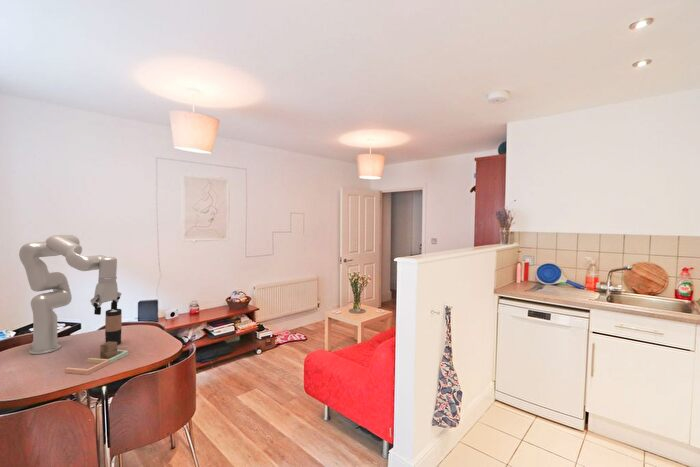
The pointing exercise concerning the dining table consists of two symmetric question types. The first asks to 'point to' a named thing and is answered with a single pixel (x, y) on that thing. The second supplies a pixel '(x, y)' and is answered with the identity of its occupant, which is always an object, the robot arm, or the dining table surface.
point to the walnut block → (108, 350)
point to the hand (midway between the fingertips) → (105, 311)
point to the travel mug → (113, 325)
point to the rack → (100, 363)
